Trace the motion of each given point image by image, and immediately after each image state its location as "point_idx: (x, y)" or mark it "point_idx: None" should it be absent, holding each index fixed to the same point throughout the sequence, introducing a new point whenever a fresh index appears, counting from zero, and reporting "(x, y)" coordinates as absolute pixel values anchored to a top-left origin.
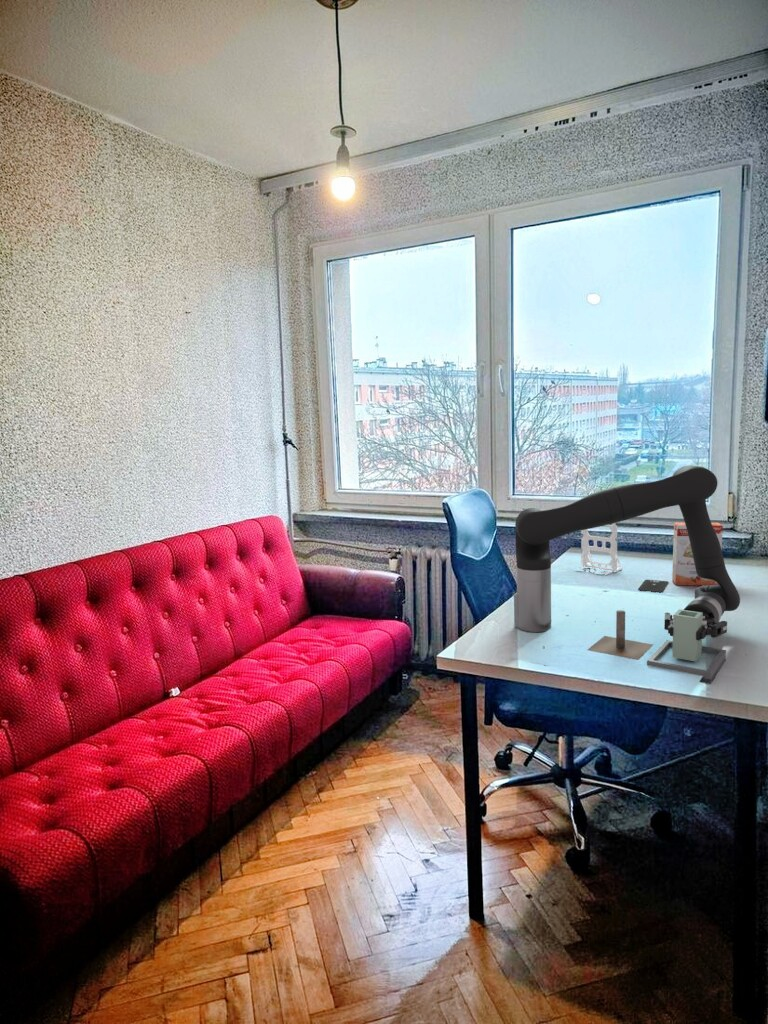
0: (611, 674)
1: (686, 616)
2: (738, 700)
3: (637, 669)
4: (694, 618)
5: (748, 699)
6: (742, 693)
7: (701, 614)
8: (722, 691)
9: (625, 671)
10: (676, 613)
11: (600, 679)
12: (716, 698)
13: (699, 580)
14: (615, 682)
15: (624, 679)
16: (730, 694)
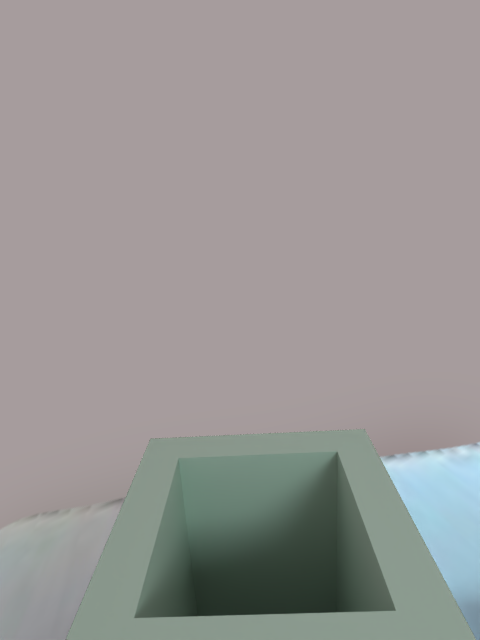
0: (470, 498)
1: (247, 441)
2: (52, 522)
3: (455, 597)
4: (175, 439)
5: (12, 544)
6: (12, 583)
7: (85, 607)
8: (88, 562)
9: (466, 547)
10: (369, 470)
11: (453, 456)
12: (119, 503)
13: None
14: (407, 460)
15: (407, 487)
16: (65, 551)
